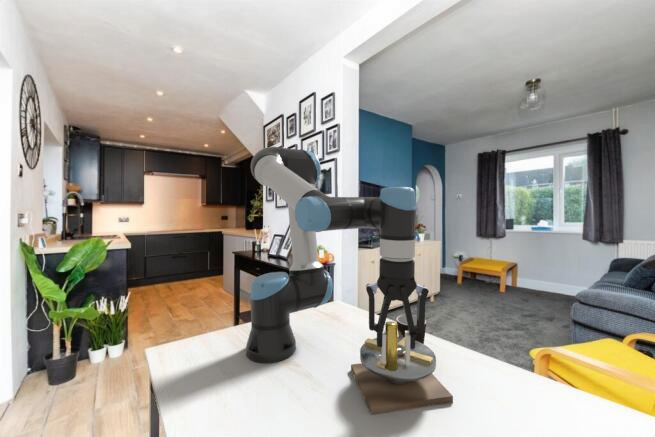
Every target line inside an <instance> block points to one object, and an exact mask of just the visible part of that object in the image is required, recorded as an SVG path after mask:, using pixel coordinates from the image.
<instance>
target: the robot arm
mask: <svg viewBox="0 0 655 437" xmlns="http://www.w3.org/2000/svg"><path fill="white" fill-rule="evenodd" d="M250 172H251V175H252V176H253V178H254V180H256V181H257V182H258V183H259V184H260V185H262V186H265V187H268V188H270V190H272V192H274V193H275V195H277V196H278V197H280V199H282V200H283V201H284V202H285V203H286V204H287V209H288V210H287V211H288V219H289V231H290V232H289V233H290V242H291V253H292V255H291V256H292V265H291V266H290V267H289V274H288V273H287V272H285V271H276V272H275V271H273V272H268V273H264V274H261V275H259V276H257V277H255V278H254V279H253V280H252V281H251V283H250V293H249V298H250V317H251V318H250V322H251V328H250V330H249V331H250V332H249V334H248V339H247V342H246V346H245V352H246V357H247V358H248V359H249V360H251V361H253V362H255V363H256V362H257V363H264V364H267V363H276V362H280V361H283V360H285V359H288V358H289V357H291V356H292V355H293V354H294V353H295V352H296V349H297V346H296V345H297V344H296V343H297V342H296V338H295V335H294V333H293V329H292V326H291V324H290V320H291V319H290V314H293V313H296V312H300V311H304V310H308V309H312V308H318V307H319V306H322V305H325V304H327V303H328V302H329V300H330V299H331V298H332V293H333V279H332V277H331V276H330V275H331V274H330V272H328V270H325V268H324V264H323V263H321V262H320V260H319V252H318V244H317V233H322V232H326V231H327V232H328V231H341V230H352V229H353V230H355V229H375V230H376V229H377V230H379V256H380V258H379V266H378V267H379V274H378V275H379V276H378V279H377V281H376V282H374V283H366V285H365V289H366V290H365V291H366V292H367V295H368V329H369V330H370V332H371V331H374V332H375V333H376V338H377V346H378V347H382V352H381V358H382V364H386V332H385V329H384V328H385V323H386V322H387V317H388V313H389V309H390V306H391V303H392V302H394V301H399V302H402V305H403V309H404V315H406V320H407V324H408V329H409V331H405V362H406V365H410V349H414V348H415V337H416V334H418V333H424V329H425V320H426V300H427V297H428V295H429V292H430V290H429V289H428V288H427V286H425V285H420V284H418V283H417V281H416V279H415V274H416V273H415V266H416V265H415V263H416V262H415V260H414V259H413V258H415V257H416V235H415V233H416V218H417V217H416V216H417V204H416V201H417V200H416V198H417V197H416V191H415V189H414V188H412V187H408V186H395V187H394V186H388V187H383V188H381V189H380V195H379V196H378V197H377V196H376V197H375V196H366V197H365V196H348V197H347V196H345V197H344V196H329V195H327V194H325V193H324V192H322V191H321V190H320V189H318V188H316V184H317V183H318V182H319V180H320V178H321V173H322V167H321V162H320V160H319V157H318V156H317V155H316V154H315V153H314V152H312V151H310V150H305V149H303V148H302V149H297V148H295V149H294V148H286V147H278V146H267V147H265V148H262V149H260V150H258V151H257V152H256V153H255V154H254V155H253V157H252V159H251V162H250ZM378 289H379V290H380V292H381V293H382V295H383V299H382V300H383V301H382V304H381V308H380V313H379V316H378V320H377V323H376V322H375V320H376V318H375V316H376V315H375V312H376V310H375V309H376V308H375V306H376V305H375V303H376V302H375V301H376V300H375V295H376V294H377V292H378V291H377V290H378ZM415 290H416V292H415ZM413 292H415V293H416V294H417V302H416V303H417V304H416V307H417V308H416V316H417V325H415V326H414V322H413V318H412V315H413V313H412V310H411V304H410V300H409V297H410V296H411V295H412V294H413Z"/></svg>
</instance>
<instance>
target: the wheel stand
mask: <svg viewBox="0 0 655 437" xmlns="http://www.w3.org/2000/svg"><path fill="white" fill-rule="evenodd" d="M350 370H351V373H352V375H353V377H354V379H355V381H356V384H357V386H358V388H359V390H360V393H361V394H362V397H363V399H364V402H365V403H366V405H367V407H368V410H369V412H370V414H371V415H378V414H383V413H391V412H398V411H405V410H412V409H418V408H425V407H432V406H439V405H445V404H451V403H452V404H453V402H454V395H453V394H452V393H451V392H450V391H449V390H448V389H447V387H445V386H444V385H443V383H441V382H440V381H439V379H438V378H437V377H436V376H435V375H434V374H433V373H432V374H431V375H430V376H428V377H426V378H423V379H420V380H414V381H397V380H391V379H387V378H383V377H380V376H378V375H376V374H374V373H372V372H370V371H369V370H367V369H366V368H365V367H364V366H363V364H362V363H361V362H360V363H353V364H350Z"/></svg>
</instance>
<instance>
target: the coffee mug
mask: <svg viewBox="0 0 655 437" xmlns="http://www.w3.org/2000/svg"><path fill="white" fill-rule="evenodd" d="M412 318H413V322H414V326H415V325H417V314H416V315H415V314H412ZM395 319H396V321H395V322H396V323H397V336H398V337H403V338H404V337H405V331H409V329H408V324H407V320H406V315H405V314H401V315H399V316H397V317H396V318H395ZM426 328H427V320H426V319H425V329H424V333H418V334H416V337H415V341H418V342H420V343H422V344H424V345H425V337H426V336H425V335H426Z"/></svg>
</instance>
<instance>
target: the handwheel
mask: <svg viewBox="0 0 655 437" xmlns="http://www.w3.org/2000/svg"><path fill="white" fill-rule="evenodd" d="M384 328H385V329H384V330H385V332H386V364H382V358H381V352H382V347H378V346H377V337H374V338H369V337H368V338H367V339H365V340H364V343H363V344H362V345H361V347H360V349H359V359H360V363H362V364H363V366H364V367H365V368H366V369H367V370H369V371H370V372H372V373H374V374H376V375H378V376H380V377H383V378H387V379H391V380H397V381H414V380H420V379H423V378H426V377H428V376H430V375H431V374H433V373H434V372H435V370H436V368H437V358H436V354H435V353H434V351H433V350H432V349H431V347H429V346H427V345H426V344H425V343H424V344H422V343H420V342H418V341H415V348H414V349H410V365H406V362H405V337H404V338H403V337H398V329H397V321H391V320H390V321H386V322H385V325H384Z"/></svg>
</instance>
